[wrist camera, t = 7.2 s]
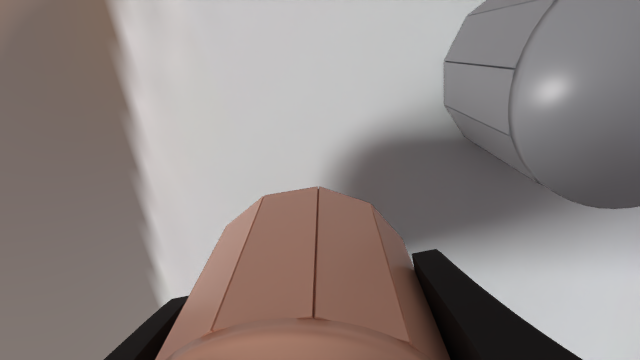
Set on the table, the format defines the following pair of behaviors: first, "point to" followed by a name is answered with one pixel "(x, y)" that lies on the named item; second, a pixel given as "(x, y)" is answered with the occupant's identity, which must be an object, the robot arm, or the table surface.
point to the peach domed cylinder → (307, 288)
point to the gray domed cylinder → (553, 93)
